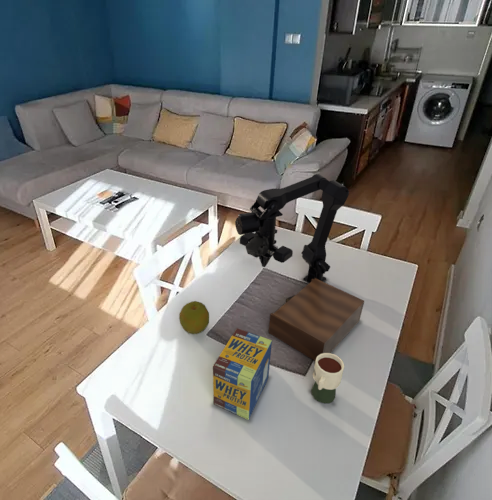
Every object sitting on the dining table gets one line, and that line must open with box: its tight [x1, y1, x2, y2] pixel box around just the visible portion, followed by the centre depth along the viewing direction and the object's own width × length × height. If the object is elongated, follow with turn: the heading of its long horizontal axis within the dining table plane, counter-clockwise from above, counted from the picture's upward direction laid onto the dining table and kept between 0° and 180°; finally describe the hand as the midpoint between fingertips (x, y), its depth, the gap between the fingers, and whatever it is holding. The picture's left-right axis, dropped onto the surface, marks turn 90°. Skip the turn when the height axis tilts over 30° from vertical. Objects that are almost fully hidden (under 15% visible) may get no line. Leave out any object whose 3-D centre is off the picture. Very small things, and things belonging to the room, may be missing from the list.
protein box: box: [212, 327, 273, 420], centre depth 102 cm, size 10×15×16 cm
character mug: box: [310, 352, 345, 404], centre depth 101 cm, size 11×7×13 cm, turn 144°
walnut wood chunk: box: [268, 278, 365, 362], centre depth 124 cm, size 25×19×9 cm
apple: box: [178, 300, 210, 335], centre depth 125 cm, size 10×10×11 cm
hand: (264, 266), depth 136 cm, fingers closed
